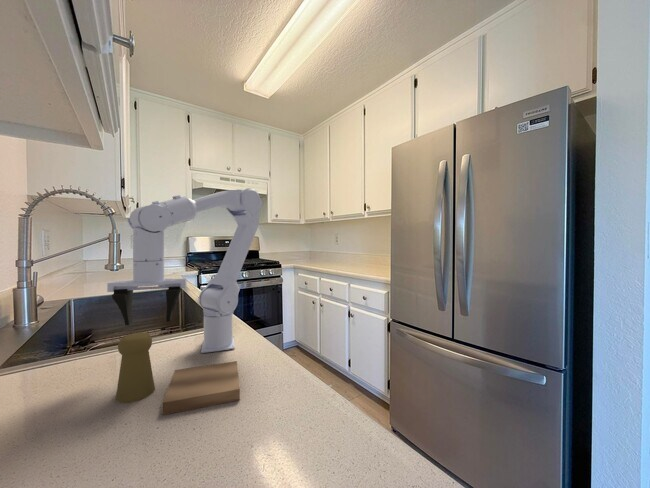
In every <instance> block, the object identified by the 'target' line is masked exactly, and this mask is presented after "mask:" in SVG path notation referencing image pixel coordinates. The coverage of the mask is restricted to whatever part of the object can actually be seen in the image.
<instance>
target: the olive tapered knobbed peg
mask: <svg viewBox="0 0 650 488" xmlns="http://www.w3.org/2000/svg"><path fill="white" fill-rule="evenodd" d="M152 345H153V338H152V335H150V333H147V332H144V331H143V332H133V333H130V334H126V335H124V336H123V337H121V338H120V339H119V341H118V344H117V349H118V353H119V354H120V355H121V360H120V366H119V373H118V378H117V379H118V380H117V387H116V394H115V401H116V402H117V403H120V404H122V403H123V404H128V403H135V402H137V401H141V400H143V399H145V398H147V397H150V395H152V394H153V393H154V391H156V387H155V381H154V376H153V369H152V362H151V358H150V349H151V347H152Z"/></svg>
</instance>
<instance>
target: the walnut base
mask: <svg viewBox="0 0 650 488" xmlns="http://www.w3.org/2000/svg"><path fill="white" fill-rule="evenodd" d="M238 370H239V369H238V361H236V360H235V361H228V362H222V363H214V364H208V365H207V364H206V365H201V366H200V365H199V366H193V367H188V368H186V367H185V368H179V369H175V370H174V371H173V375H172V376H171V380H170V382H169V385H168V387H167V390H166V392H165V395H164V398H163V400H162V416H164V415H169V414H175V413H179V412H180V413H181V412H186V411H191V410H195V409H201V408H206V407H211V406H216V405H221V404H226V403H231V402H237V401H240V400H241V397H240V396H241V395H240V394H241V392H240V391H241V387H240V380H239V371H238Z"/></svg>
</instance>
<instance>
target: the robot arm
mask: <svg viewBox="0 0 650 488" xmlns="http://www.w3.org/2000/svg"><path fill="white" fill-rule="evenodd" d="M262 205H263V202H262V199H261V197H260V194H259V192H258V191H257V190H256V189H254V188H253V187H248V188H247V187H246V188H245V189H243V188H239V189H230V190H222V191H217V192H214V193H212V194H209V195H208V194H207V195H203V196H202V197H198V198H195V199H191V198H189V197H187V196H181V195H180V194H177V195H174V196H172V199H168V200H163V201H159V200H155V201H152V202H151V204H150V205H145V206H144V205H143V206H139V207H136V208H134V209H133V210H132V211H131V212H130V215H129V218H127V222H128V225H129V227H130V228H131V229H132V230H133V231H132V232H133V234H132V236H133V237H132V260H133V261H132V276H133V277H132V280H119V281H118V280H117V281H109V282H107V284H106V285H107V287H106V290H107V291H106V292H107V293H113V294H111V298H112V300H113V301H114V302H115V304H116V305H117V307H118V309H119V310H120V313H121V315H122V317H123V322H124V326H125V327H126V326H130V325H131V324H132V323H133V310H132V308H133V295H134V291H144V290H160V289H161V290H162V289H163V290H164V289H166V291H165V296H166V297H165V298H166V317H165V318H166V319H165V320H166V322H167V323H169V322H170V323H171V321H172V317H173V313H174V309H175V305H176V303H177V300H178V298H179V295H180V294H181V291H182V289H186V288H187V278H165V242H164V241H165V237H164V236H165V235H164V234H165V233H164V231H165V230H166V229H167V228H168V227H172V226H175V225H178V224H180V223H185V222H188V221H190V220H193V219H194V218H196V216H197V213H198V212H202V211H206V210H209V209H213V208H217V207H221V208H222V209H224V208H225V209H226V210H227V212H228V214H229V215H230V216H231V217H232V218H233V220H234V221H235V222H236V224H237V225H236V226H237V227H236V229H235V231H234V234H233V236H232V239H231V241H230V243H229V246H228V248H227V251H226V252H225V255H224V257H223V260H222V261H221V264H220V266H219V269H218V271H217V274H216V275H215V276H213V278H211V279H210V280H209V281H208V283H207V285H206V286H205V288H203V289H202V290H201V291H200V293H199V295H198V304H199V306H200V307H201V308H202V312H203V341H202V344H201V346H202V347H201V350H200V351H201V354H205V353H206V354H207V353H212V352H213V353H214V352H220V351H228V350H235V347H236V346H235V339H234V338H235V337H234V335H233V334H234V333H233V332H234V331H233V326H234V325H233V322H234V321H233V319H234V318H233V316H234V311H235V310H236V308H237V307H238V303H239V292H240V290H241V289H240V286H239V284H238V282H237V281H238V278H239V276H240V273H241V271H242V268H243V266H244V264H245V261H246V258H247V255H248V254H249V251H250V248H251V246H252V243H253V240H254V238H255V236H256V232H257V230H258V228H259V223H260V222H259V217H260V211H261V207H262Z"/></svg>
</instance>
